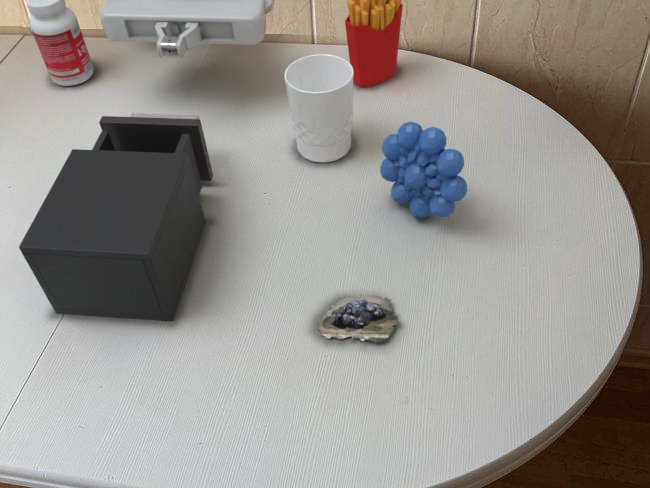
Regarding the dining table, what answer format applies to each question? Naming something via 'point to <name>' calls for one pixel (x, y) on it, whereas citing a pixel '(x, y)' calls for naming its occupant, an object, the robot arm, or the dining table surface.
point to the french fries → (373, 39)
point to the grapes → (423, 170)
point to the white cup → (321, 105)
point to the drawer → (158, 138)
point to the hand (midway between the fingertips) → (169, 51)
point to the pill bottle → (60, 42)
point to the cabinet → (117, 234)
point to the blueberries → (359, 319)
